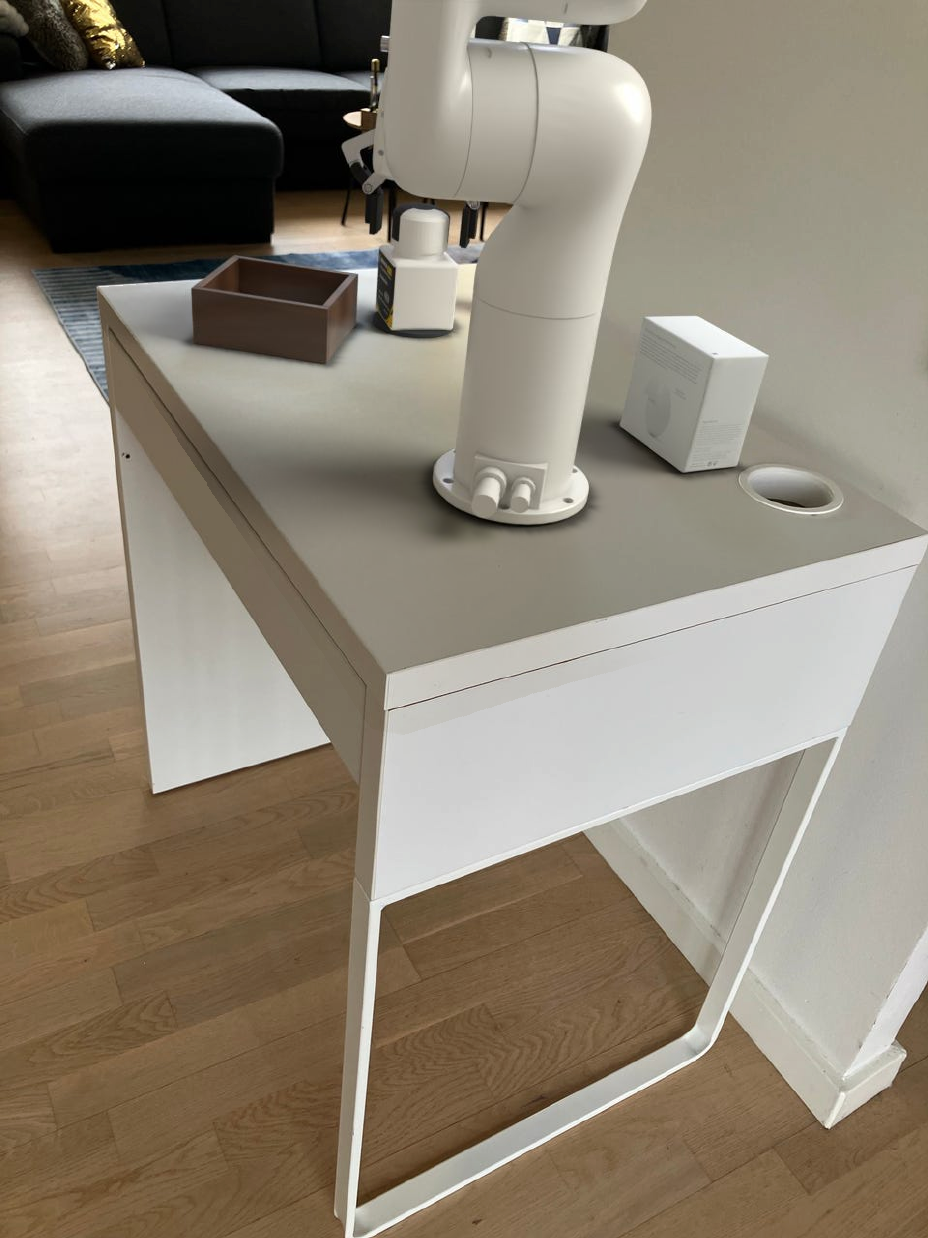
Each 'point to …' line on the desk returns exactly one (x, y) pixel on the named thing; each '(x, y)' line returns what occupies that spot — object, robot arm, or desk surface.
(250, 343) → the desk caddy
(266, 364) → the desk surface
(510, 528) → the desk surface
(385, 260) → the medicine bottle
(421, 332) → the coaster
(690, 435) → the cosmetics box
